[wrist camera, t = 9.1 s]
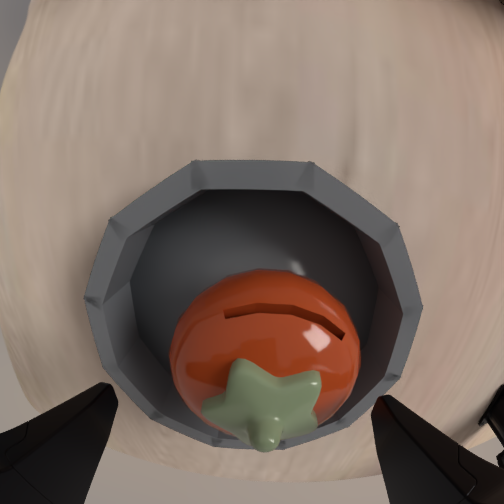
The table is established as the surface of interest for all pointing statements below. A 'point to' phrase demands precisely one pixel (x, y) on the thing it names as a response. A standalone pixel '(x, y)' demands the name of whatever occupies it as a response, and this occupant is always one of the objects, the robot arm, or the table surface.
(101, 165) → the table surface
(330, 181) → the bowl
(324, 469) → the table surface
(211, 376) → the tomato
